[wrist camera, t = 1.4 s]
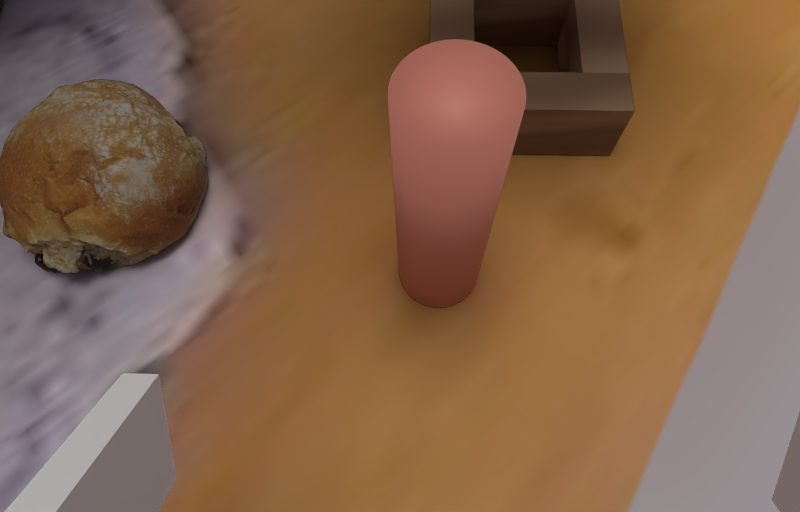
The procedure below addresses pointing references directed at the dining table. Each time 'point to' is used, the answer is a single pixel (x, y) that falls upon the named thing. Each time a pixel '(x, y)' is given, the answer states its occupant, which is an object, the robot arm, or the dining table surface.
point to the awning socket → (578, 63)
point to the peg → (450, 161)
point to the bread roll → (99, 178)
